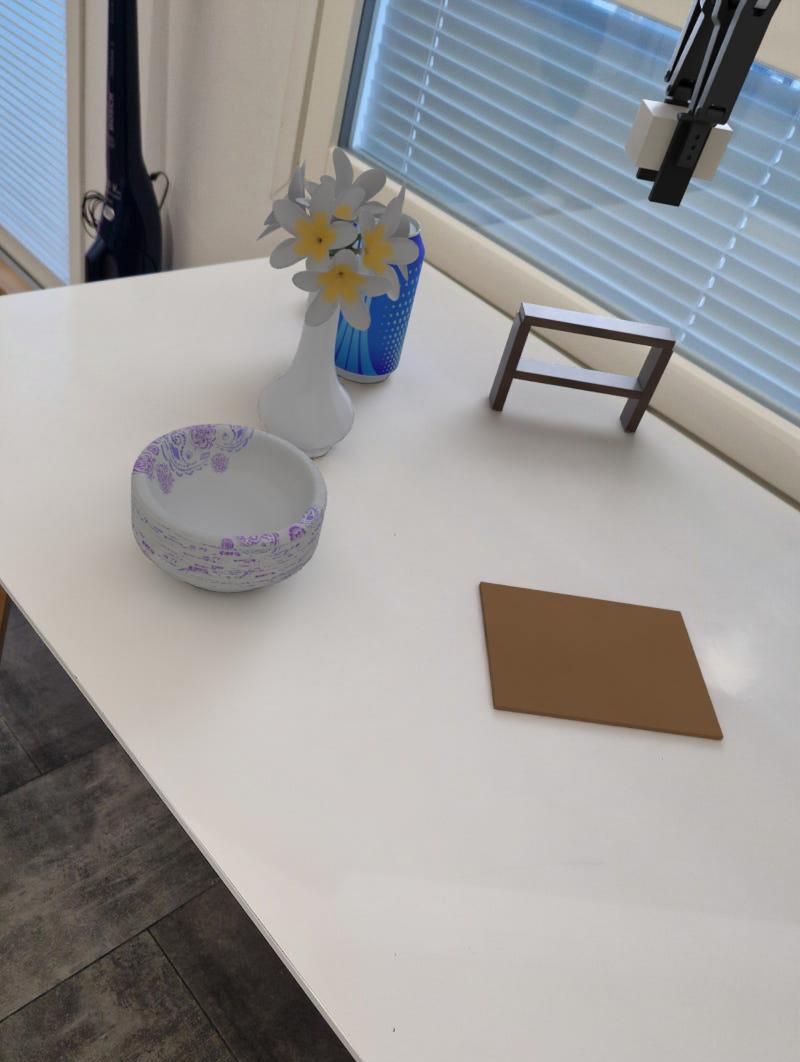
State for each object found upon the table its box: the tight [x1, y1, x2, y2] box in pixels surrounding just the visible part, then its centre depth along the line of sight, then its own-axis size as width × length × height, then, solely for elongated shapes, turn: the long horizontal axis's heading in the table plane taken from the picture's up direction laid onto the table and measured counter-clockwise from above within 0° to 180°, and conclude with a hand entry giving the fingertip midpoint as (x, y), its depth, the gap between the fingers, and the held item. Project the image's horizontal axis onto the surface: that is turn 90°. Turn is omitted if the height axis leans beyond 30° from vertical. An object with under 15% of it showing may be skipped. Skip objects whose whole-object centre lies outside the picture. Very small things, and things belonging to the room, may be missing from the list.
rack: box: [488, 301, 677, 434], centre depth 96 cm, size 16×3×11 cm, turn 87°
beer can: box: [335, 212, 426, 384], centre depth 94 cm, size 8×8×16 cm
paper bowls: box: [130, 423, 328, 593], centre depth 72 cm, size 15×15×8 cm
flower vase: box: [255, 147, 419, 459], centre depth 79 cm, size 13×18×25 cm
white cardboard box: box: [624, 98, 734, 182], centre depth 78 cm, size 7×5×4 cm
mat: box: [479, 581, 724, 741], centre depth 73 cm, size 18×14×1 cm
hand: (656, 190), depth 81 cm, fingers closed on white cardboard box, 5 cm apart
